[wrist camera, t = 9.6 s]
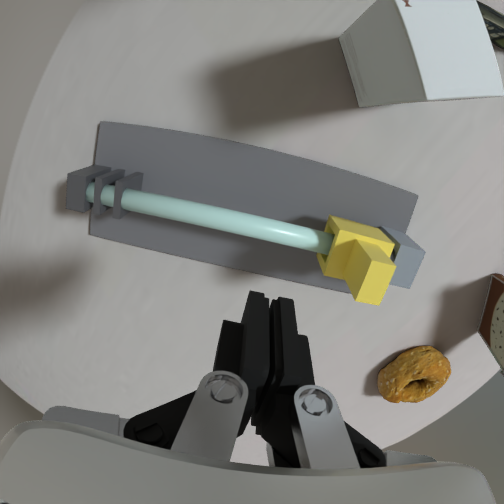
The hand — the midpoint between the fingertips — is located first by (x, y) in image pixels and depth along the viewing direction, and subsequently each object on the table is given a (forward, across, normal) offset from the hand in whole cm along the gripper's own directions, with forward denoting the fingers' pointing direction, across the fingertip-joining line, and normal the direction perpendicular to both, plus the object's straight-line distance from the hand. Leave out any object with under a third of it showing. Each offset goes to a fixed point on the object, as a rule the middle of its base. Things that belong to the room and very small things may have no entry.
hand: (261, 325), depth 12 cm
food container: (+19, -36, +4) cm, 41 cm away
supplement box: (+20, -8, -15) cm, 26 cm away
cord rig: (+19, +2, +2) cm, 19 cm away
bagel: (+18, -26, +18) cm, 37 cm away
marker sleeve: (+16, -8, +1) cm, 18 cm away
